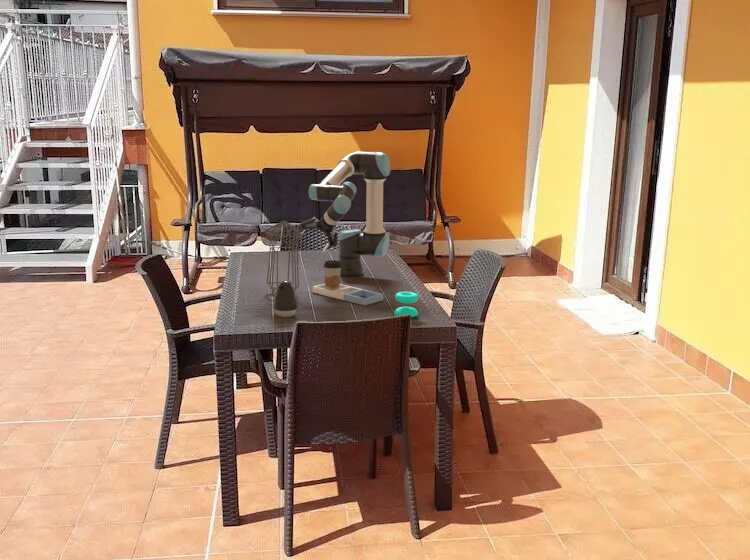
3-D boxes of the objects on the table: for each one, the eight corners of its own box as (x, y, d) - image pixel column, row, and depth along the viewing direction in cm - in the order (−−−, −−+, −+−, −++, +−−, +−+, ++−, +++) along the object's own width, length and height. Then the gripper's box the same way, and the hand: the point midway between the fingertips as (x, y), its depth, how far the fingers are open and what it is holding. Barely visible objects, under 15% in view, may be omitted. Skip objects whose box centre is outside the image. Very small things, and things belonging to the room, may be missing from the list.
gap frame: (331, 288, 377) (331, 282, 376) (383, 300, 356) (383, 294, 355) (312, 292, 367) (312, 286, 366) (364, 305, 346) (364, 298, 345)
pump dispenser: (268, 317, 323) (268, 282, 319) (280, 311, 332) (280, 277, 329) (290, 320, 319) (290, 284, 316) (301, 314, 329) (301, 279, 325)
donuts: (412, 290, 334) (422, 295, 325) (411, 312, 337) (421, 318, 328) (391, 291, 330) (401, 297, 321) (390, 314, 333) (400, 320, 324)
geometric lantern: (262, 292, 365) (263, 219, 358) (294, 290, 371) (295, 218, 364) (271, 299, 351) (272, 223, 344) (304, 297, 357) (305, 223, 350)
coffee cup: (327, 295, 362) (328, 264, 359) (320, 291, 369) (320, 260, 366) (343, 293, 366) (344, 263, 363) (336, 290, 373) (336, 259, 370)
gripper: (304, 210, 356) (287, 234, 372) (350, 238, 361) (331, 261, 376) (310, 199, 361) (293, 224, 377) (355, 228, 365) (336, 250, 381)
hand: (312, 242), depth 377 cm, fingers open, 13 cm apart
